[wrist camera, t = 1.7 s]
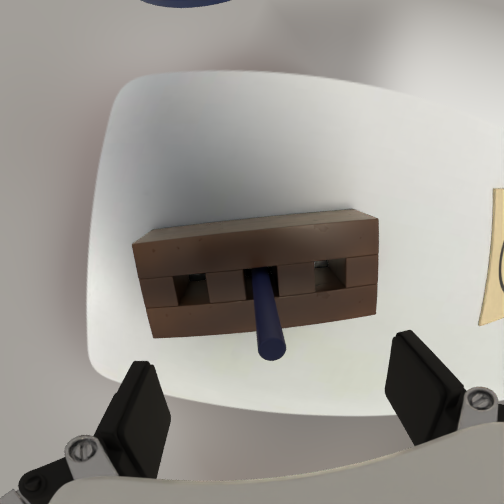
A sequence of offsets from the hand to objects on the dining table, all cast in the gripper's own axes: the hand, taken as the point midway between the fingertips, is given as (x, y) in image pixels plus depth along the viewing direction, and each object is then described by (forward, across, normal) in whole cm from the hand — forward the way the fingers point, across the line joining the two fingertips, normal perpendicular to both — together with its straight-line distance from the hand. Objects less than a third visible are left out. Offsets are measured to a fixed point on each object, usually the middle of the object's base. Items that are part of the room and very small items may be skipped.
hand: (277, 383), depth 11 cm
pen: (+15, 0, 0) cm, 15 cm away
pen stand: (+15, 0, 0) cm, 15 cm away
